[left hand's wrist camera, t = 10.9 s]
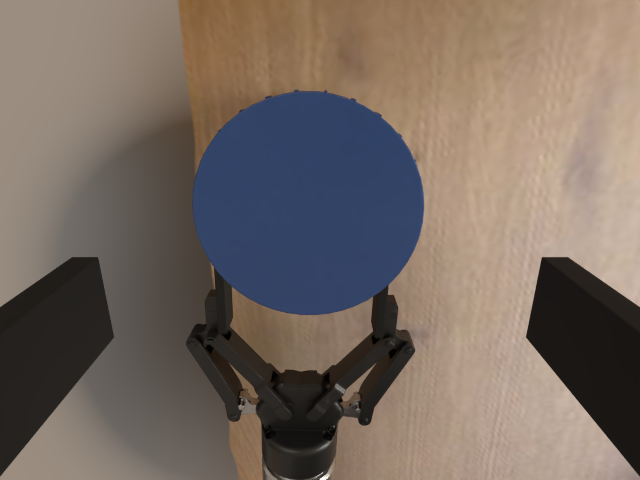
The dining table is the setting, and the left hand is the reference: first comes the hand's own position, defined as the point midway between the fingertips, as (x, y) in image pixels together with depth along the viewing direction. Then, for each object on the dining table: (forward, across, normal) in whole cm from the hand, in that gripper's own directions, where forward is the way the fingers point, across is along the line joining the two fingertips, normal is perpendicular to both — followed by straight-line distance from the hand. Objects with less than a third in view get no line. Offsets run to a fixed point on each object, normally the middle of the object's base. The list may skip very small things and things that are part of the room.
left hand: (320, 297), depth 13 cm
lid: (+8, 0, 0) cm, 8 cm away
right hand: (+21, +2, +8) cm, 23 cm away
